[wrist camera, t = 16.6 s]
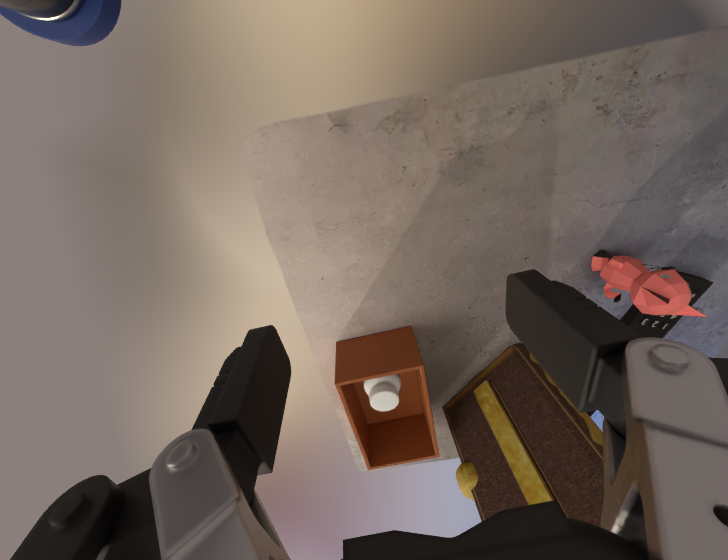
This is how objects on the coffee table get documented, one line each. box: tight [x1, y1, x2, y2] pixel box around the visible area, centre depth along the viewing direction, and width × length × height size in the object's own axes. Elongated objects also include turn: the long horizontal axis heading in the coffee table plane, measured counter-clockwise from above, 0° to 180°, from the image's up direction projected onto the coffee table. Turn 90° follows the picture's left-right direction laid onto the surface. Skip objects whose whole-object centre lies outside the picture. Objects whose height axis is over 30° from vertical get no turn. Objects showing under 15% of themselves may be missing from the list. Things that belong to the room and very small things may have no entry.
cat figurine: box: [591, 250, 707, 317], centre depth 38 cm, size 7×7×12 cm
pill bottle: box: [364, 374, 401, 411], centre depth 43 cm, size 5×5×10 cm
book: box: [443, 344, 604, 527], centre depth 43 cm, size 22×8×25 cm, turn 146°
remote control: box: [586, 268, 713, 417], centre depth 51 cm, size 8×32×2 cm, turn 165°
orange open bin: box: [335, 326, 439, 470], centre depth 48 cm, size 21×12×9 cm, turn 13°
